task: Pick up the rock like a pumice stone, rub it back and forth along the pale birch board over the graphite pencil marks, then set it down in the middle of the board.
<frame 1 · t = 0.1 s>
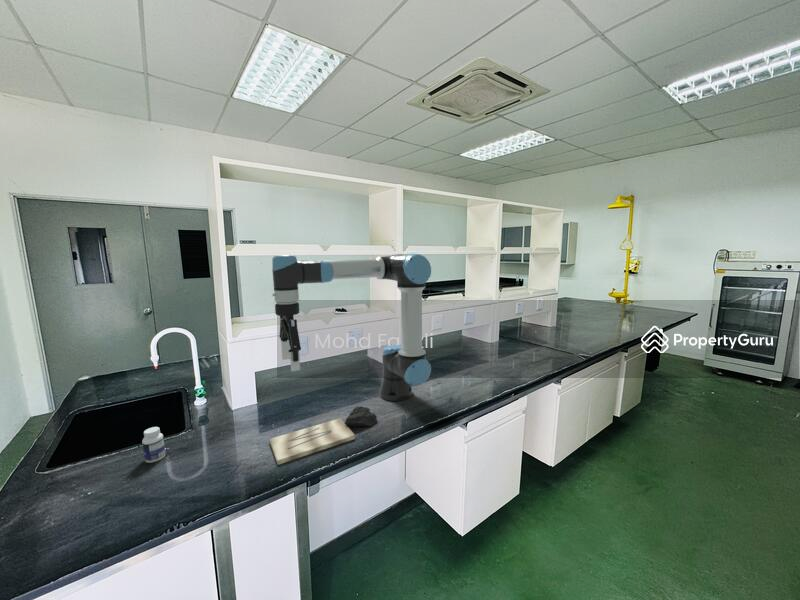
hand: (290, 364, 108), 28 cm above the worktop, fingers open, 13 cm apart
board: (312, 440, 111), on the worktop
rock: (360, 424, 122), on the worktop, touching board
pill bottle: (155, 458, 103), on the worktop
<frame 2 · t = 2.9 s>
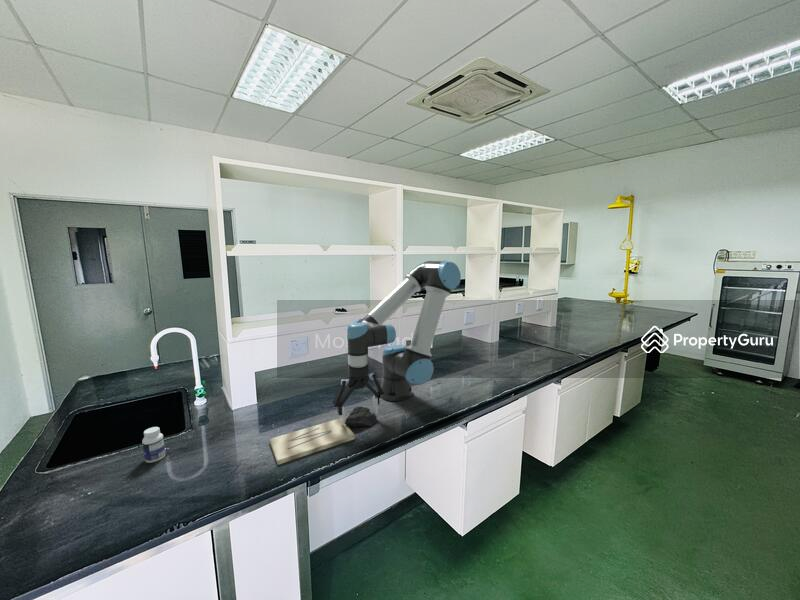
hand: (359, 417, 122), 3 cm above the worktop, fingers open, 13 cm apart
rock: (360, 424, 122), on the worktop, touching board, gripper
everything else where it was.
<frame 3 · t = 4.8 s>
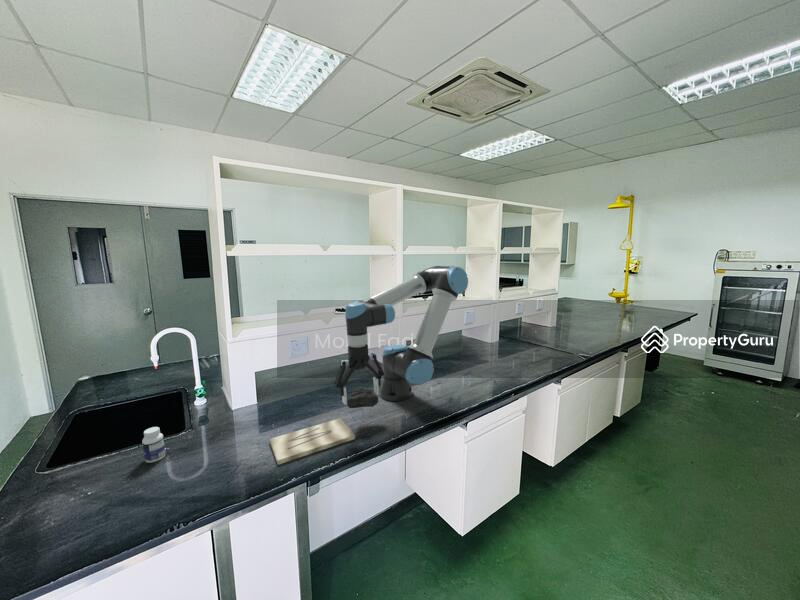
hand: (361, 398, 121), 10 cm above the worktop, fingers closed on rock, 13 cm apart
rock: (361, 405, 122), point 7 cm above the worktop, touching gripper
everything else where it was.
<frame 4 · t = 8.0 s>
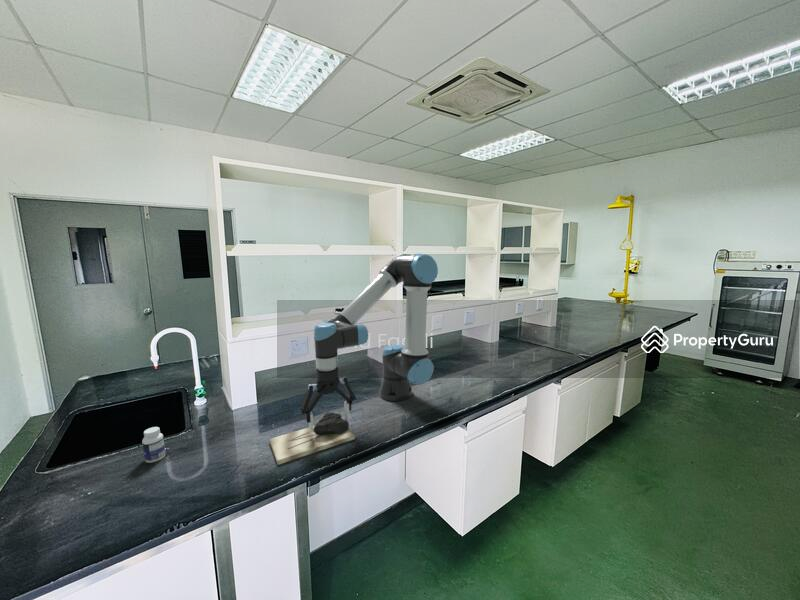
hand: (329, 424, 114), 4 cm above the worktop, fingers closed on rock, 13 cm apart
rock: (330, 431, 115), point 1 cm above the worktop, touching gripper
everything else where it was.
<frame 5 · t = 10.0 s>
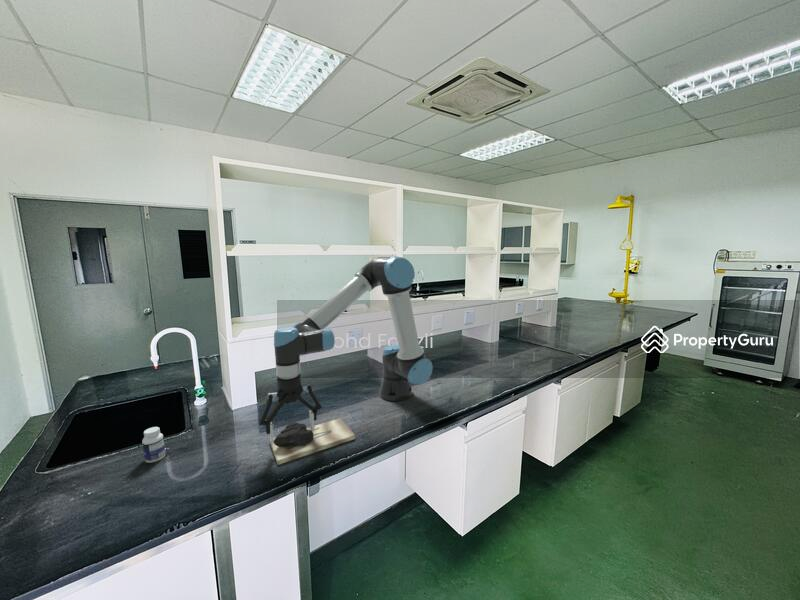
hand: (292, 435, 107), 4 cm above the worktop, fingers closed on rock, 13 cm apart
rock: (294, 443, 108), point 1 cm above the worktop, touching board, gripper
everything else where it was.
when the fingers open (4 cm above the worktop, at t = 14.1 s): rock moves 7 cm, resting on board.
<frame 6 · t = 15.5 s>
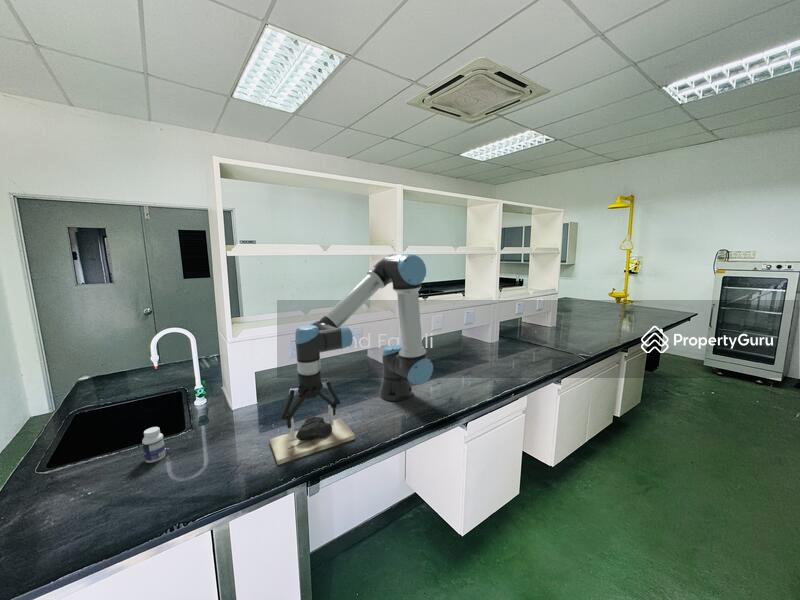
hand: (312, 429, 111), 4 cm above the worktop, fingers open, 13 cm apart
rock: (313, 436, 112), point 1 cm above the worktop, touching board, gripper
everything else where it was.
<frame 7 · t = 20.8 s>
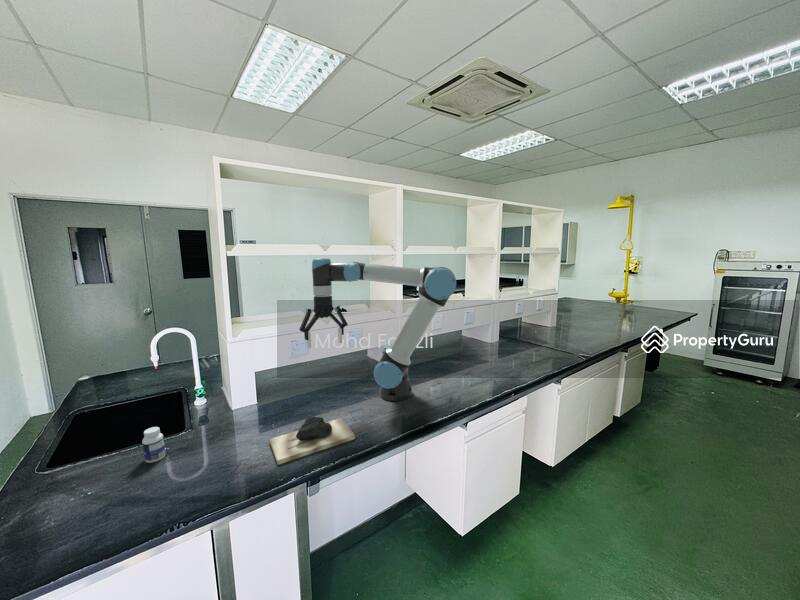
hand: (325, 344, 136), 27 cm above the worktop, fingers open, 13 cm apart
rock: (313, 436, 112), point 1 cm above the worktop, touching board
everything else where it was.
at the end: rock inside the target area on the board (0.8 cm from its centre), point 1.4 cm above the board's base; rock moved 18.5 cm from its start; the gripper is holding nothing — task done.
